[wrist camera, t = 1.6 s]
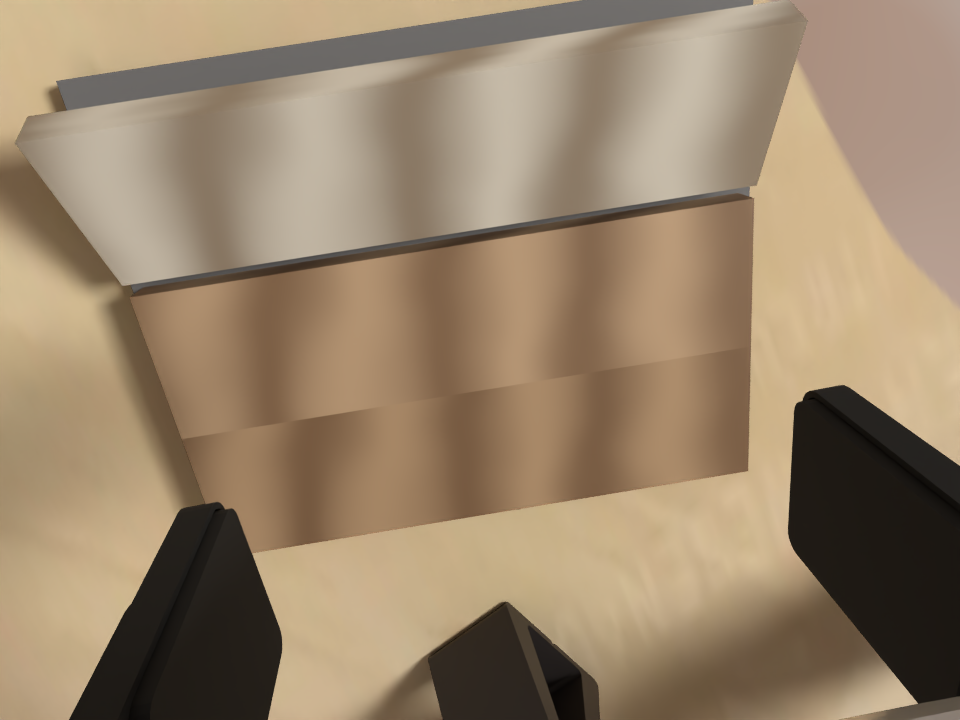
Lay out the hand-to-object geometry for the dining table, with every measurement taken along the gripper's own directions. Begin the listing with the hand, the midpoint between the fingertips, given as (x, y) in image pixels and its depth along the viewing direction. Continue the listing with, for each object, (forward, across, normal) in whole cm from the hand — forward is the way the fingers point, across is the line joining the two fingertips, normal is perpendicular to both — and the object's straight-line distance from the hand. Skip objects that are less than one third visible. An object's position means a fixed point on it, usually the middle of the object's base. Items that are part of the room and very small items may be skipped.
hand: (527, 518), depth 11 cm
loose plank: (+17, 0, -4) cm, 18 cm away
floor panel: (+20, 0, +2) cm, 21 cm away
